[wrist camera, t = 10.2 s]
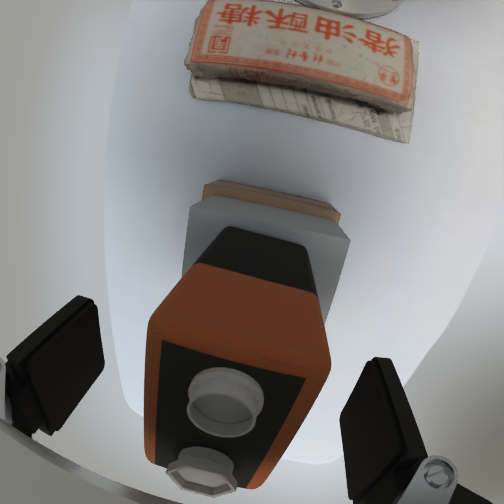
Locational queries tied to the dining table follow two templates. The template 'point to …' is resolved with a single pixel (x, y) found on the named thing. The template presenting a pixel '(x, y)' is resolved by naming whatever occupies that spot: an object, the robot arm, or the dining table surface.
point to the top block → (274, 225)
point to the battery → (233, 363)
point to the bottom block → (271, 199)
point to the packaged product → (305, 65)
